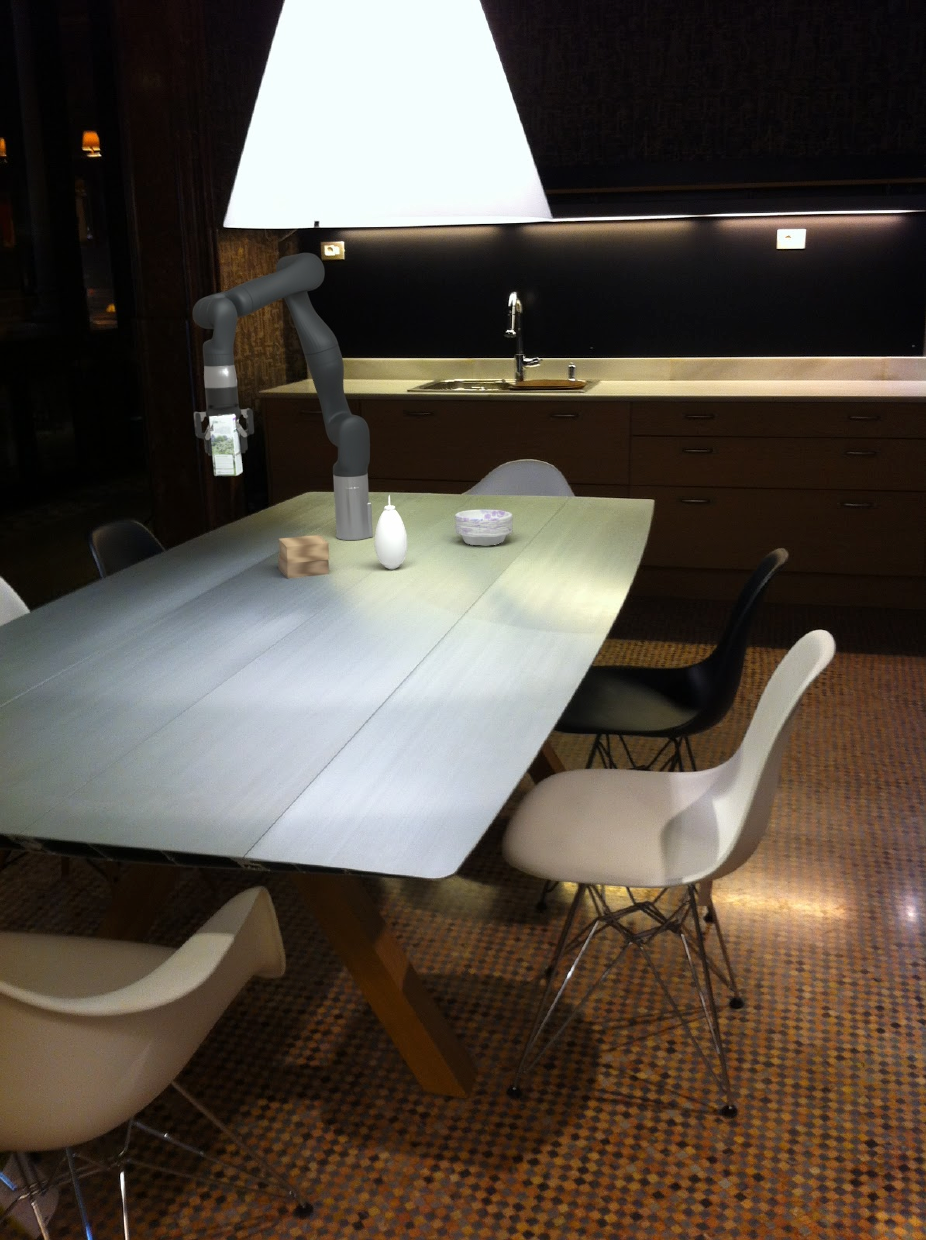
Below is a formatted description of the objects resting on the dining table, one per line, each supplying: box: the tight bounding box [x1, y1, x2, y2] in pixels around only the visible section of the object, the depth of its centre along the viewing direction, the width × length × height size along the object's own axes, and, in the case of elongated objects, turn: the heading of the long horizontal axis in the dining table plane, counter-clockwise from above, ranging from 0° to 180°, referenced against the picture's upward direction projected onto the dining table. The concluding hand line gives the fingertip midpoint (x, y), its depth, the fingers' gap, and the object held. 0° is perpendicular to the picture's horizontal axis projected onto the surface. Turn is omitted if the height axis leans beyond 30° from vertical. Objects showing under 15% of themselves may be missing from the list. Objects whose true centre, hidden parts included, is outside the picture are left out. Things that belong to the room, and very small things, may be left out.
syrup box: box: [208, 414, 244, 477], centre depth 280 cm, size 6×6×14 cm
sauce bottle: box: [374, 495, 408, 570], centre depth 279 cm, size 8×8×18 cm
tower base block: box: [277, 554, 330, 579], centre depth 280 cm, size 10×10×4 cm
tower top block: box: [278, 534, 330, 563], centre depth 279 cm, size 10×10×4 cm
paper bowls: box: [454, 509, 514, 546], centre depth 306 cm, size 15×15×8 cm
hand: (226, 453), depth 280 cm, fingers closed on syrup box, 7 cm apart
